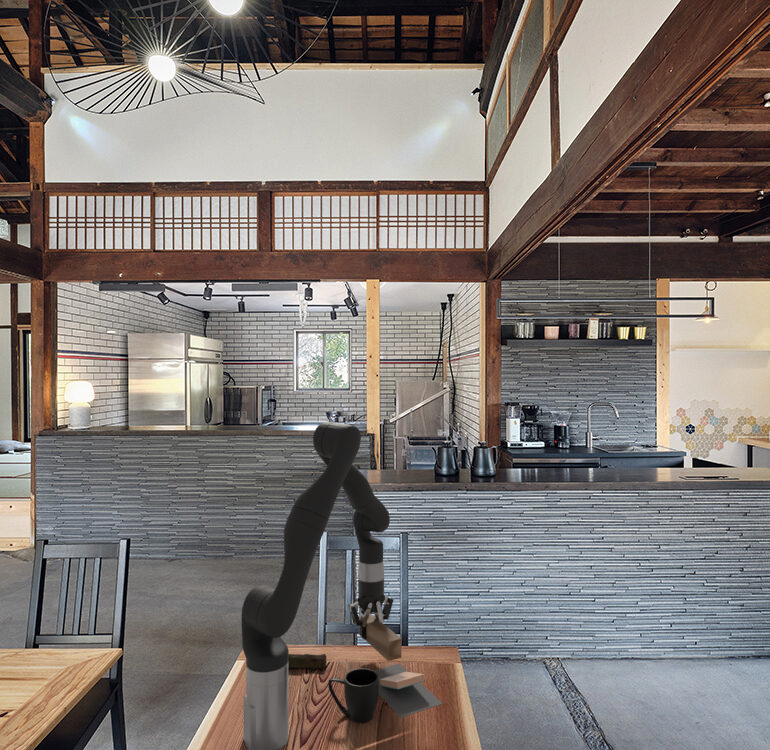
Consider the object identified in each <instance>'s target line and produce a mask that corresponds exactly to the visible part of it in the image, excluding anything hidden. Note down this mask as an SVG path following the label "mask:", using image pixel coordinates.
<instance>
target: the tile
mask: <svg viewBox="0 0 770 750" xmlns="http://www.w3.org/2000/svg"><path fill="white" fill-rule="evenodd" d="M424 682H426V676H425V674H424V673H418V672H410V671H408V672H403V673H400V674H396V675H393V676H389V677H385V678H382V679H380V686H383V687H388V688H393V689H401V688H404V687H408V686H411V685H414V684H418V683H421V684H422V683H424Z"/></svg>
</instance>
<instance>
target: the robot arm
mask: <svg viewBox="0 0 770 750" xmlns="http://www.w3.org/2000/svg"><path fill="white" fill-rule="evenodd" d="M361 440H362V435H361V431H360V429H359V427H357V426H356V425H352V424H347V423H340V422H333V421H325V422H321V423H319V424H318V425H317V426H316V428H315V430H314V432H313V437H312V442H313V443H312V444H313V448H314V450H315V452H316V453H317V455H318V456H319V457H320V458H321V460H322V462H323V463H324V464H325V465H326V468H325V469H324V470H323V472H322V474H320V476H319V477H318V478H317V479H315V481H314V482H313V483H312V484H310V485H309V486H308V487H306V488H305V490H304V491H303V492H301V494H300V495H299V496H298V497H297V498H296V499H295V501H294V502H293V504H292V508H291V510H290V511H289V514H288V516H287V520H286V522H285V525H284V528H283V553H284V554H283V555H284V556H283V557H284V560H283V567H282V571H281V574H280V577H279V580H278V582H277V584H276V586H275V588H274V587H271V586H268V585H257V586H255V587H253V588H252V589H251V590H250V591H249V592H248V593H247V595H245V598H244V600H243V603H242V607H241V638H242V639H241V640H242V641H241V642H242V651H243V653H244V656H245V658H246V659H245V660H246V661H245V663H246V664H245V665H246V668H245V669H246V671H245V676H246V680H245V681H246V682H245V683H246V685H245V686H246V687H245V690H246V691H245V695H244V696H243V735H242V736H243V741H244V743H245V747H246V749H247V750H281V749H282V748H284V747H285V745H286V744H287V742H288V740H289V727H290V726H289V684H290V681H289V673H290V672H289V669H290V668H289V654H290V653H289V647H288V645H287V644H286V642H285V641H284V639H283V638H282V636H284V635H285V634H286V633H287V632H288V631H289V630H290V629H291V627H292V625H293V623H294V621H295V619H296V617H297V614H298V609H299V608H300V603H301V600H302V597H303V593H304V589H305V586H306V582H307V579H308V576H309V573H310V569H311V567H312V563H313V561H314V558H315V555H316V553H317V549H318V548H319V544H320V542H321V540H322V537H323V535H324V533H325V531H326V528H327V525H328V522H329V520H330V517H331V514H332V511H333V508H334V506H335V503H336V501H337V498H338V495H339V493H340V491H341V488H342V489H343V491H344V493H345V495H346V497H347V500H348V501H349V504H350V505H351V508H352V509H353V510H354V512H353V515H352V523H353V528H354V533H355V535H356V539H357V544H358V569H357V572H358V573H357V578H358V579H357V583H358V584H357V592H358V597H357V599H356V601H355V602H354V603H349V604H348V605H347V606H348V610H349V612H350V617H351V618H352V619H351V620H352V622H353V623H354V624H355V625H356V626H358V627H359V626H360V635H359V637H361V638H362V639H363V640H364V641H366V640H365V639H366V624H367V619H368V618H369V615H370V614H372V613H374V617H375V618H377V619H378V620H379V621H380V622H382V623H383V622H384V621H386V620H388V619H389V618H390V614H391V610H392V608H393V603H394V598H392V597H391V596H389V595H387V596H385V564H384V542H383V541H382V540H381V539H379V538H376V537H374V536H373V535H372V534H371V533H372V532H373V533H384V532H385V531H386V530H387V529H388V528H389V527H390V522H391V517H390V513H389V511H388V509H387V507H386V506H385V505H384V503H382V502H381V500H380V499H379V498H378V497H377V496H376V495H375V494H374V491H373V489H372V487H371V485H370V482H369V480H368V479H367V478H366V476H365V475H364V474H363V473H362V472H361V471H360V470H359V469H358V468H357V467H356V466H355V465H354V464H353V463H354V462H355V459H356V458H357V455H358V452H359V450H360V446H361V443H362V442H361ZM382 606H383V607H382ZM359 608H360V611H359ZM358 611H359V613H358ZM359 616H360V619H359ZM383 624H384V623H383Z"/></svg>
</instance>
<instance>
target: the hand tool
mask: <svg viewBox="0 0 770 750" xmlns="http://www.w3.org/2000/svg"><path fill="white" fill-rule="evenodd" d="M326 666H327V655H326V653H323V654H310V653H304V654H300V653H297V654H295V653H289V669H291V668H292V669H294V668H296V669H312V670H314V669H315V670H321V671H325V669H326Z"/></svg>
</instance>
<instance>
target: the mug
mask: <svg viewBox="0 0 770 750" xmlns="http://www.w3.org/2000/svg"><path fill="white" fill-rule="evenodd" d="M335 682H336V683H338V684H339V683H340V684H342V685H343V687H344V701H345V704H346V707H345V706H343V704H342V703H341V701H340V699H339V698H338V696H337V695H336V692H335V690H334V688H333V684H332V683H335ZM327 684H328V690H329V693H330V694H331V697H332V698H333V700H334V702H335V704H336V705H337V707H338V708H339V710H340V711H341V713H342V714H343V715H344V716H345V717H349V719H350V720H351V721H352V722H353V723H356V724H365V723H369V722H371V720H373V719H374V715H375V711H376V707H377V705H378V699H379V676H378V674H377V673H376V672H375V671H374V669H371V668H370V669H369V668H366V667H365V668H364V667H362V668H360V667H359V668H355V669H352V670H349V671H347V672H346V673H345V675H344V679H343V678H338V677H332V678H329V680H328V683H327Z"/></svg>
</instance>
